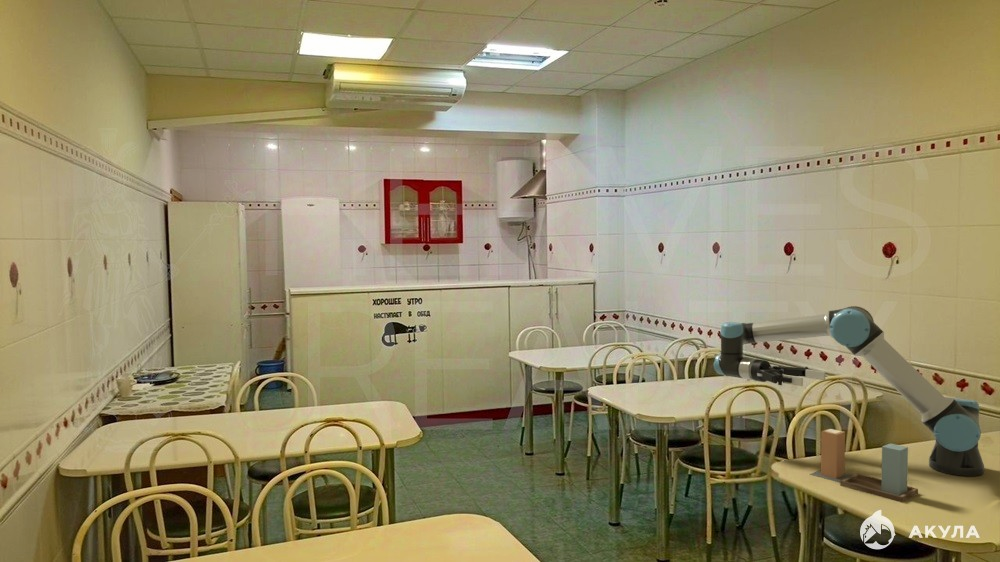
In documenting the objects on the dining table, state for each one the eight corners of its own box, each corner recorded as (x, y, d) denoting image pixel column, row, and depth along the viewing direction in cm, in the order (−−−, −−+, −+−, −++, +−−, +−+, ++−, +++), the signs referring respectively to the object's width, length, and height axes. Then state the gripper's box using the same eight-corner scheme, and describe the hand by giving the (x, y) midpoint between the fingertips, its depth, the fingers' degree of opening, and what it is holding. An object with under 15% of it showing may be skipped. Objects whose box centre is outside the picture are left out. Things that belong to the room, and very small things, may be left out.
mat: (825, 469, 230) (825, 467, 230) (856, 477, 222) (856, 475, 222) (809, 476, 224) (809, 474, 224) (840, 484, 216) (840, 482, 216)
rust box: (829, 471, 227) (829, 428, 226) (844, 475, 223) (844, 431, 222) (820, 474, 224) (821, 431, 223) (836, 478, 220) (836, 434, 219)
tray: (857, 479, 220) (857, 473, 220) (917, 495, 206) (918, 488, 206) (840, 487, 214) (840, 480, 214) (901, 504, 200) (901, 497, 200)
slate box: (889, 489, 210) (890, 443, 209) (907, 494, 206) (907, 447, 205) (881, 493, 207) (882, 446, 206) (899, 498, 203) (900, 450, 202)
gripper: (775, 375, 253) (833, 384, 237) (734, 385, 239) (792, 396, 222) (775, 355, 253) (833, 362, 236) (734, 363, 238) (792, 372, 221)
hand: (813, 379), depth 229 cm, fingers open, 13 cm apart
